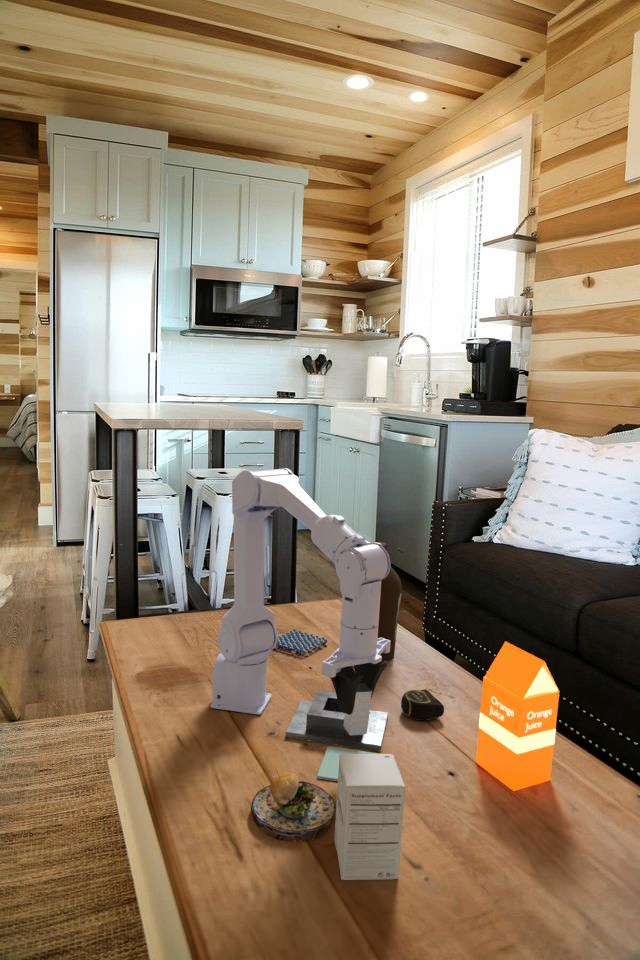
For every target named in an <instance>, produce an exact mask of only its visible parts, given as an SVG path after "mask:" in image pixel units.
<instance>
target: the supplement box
mask: <svg viewBox="0 0 640 960" xmlns="http://www.w3.org/2000/svg"><path fill="white" fill-rule="evenodd" d="M405 790H406V784H405V782H404V780H403V777H402V774H401V771H400V768H399V766H398V764H397V760H396V757H395V755H394V754H392V753H378V754H340V755H339V773H338V781H337V792H336V804H335V806H336V811H335V822H334V823H335V825H334V845H335V849H336V854H337V859H338V867H339V874H340V879H341V880H342V881H367V880H368V881H370V880H371V881H376V880H378V881H380V880H397V879H399V877H400V862H401V861H400V860H401V846H402V837H403V835H402V834H403V821H404V808H405V799H406V798H405V795H406V793H405V792H406V791H405Z"/></svg>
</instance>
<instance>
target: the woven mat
mask: <svg viewBox="0 0 640 960" xmlns="http://www.w3.org/2000/svg"><path fill="white" fill-rule="evenodd" d="M313 635H314V634H313V633H310V634H308V632H302V631H301V630H300V631H299V630H298V631H296V629H293V630H289V631H288V632H284V634H281V635H280V636H279V635H278V640H277V644H276V646H275V648H274V649H273V651H277V652H281V653H284V654H287V655H291V656H294V657H297V658H300V659H307V657H308V656H312V654H315V653H316V652H317V651H319V650H322V649H325V648H326V647H327V646H328V645H329V644H328V639H325V637H319V635H314V636H313Z"/></svg>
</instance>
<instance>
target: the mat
mask: <svg viewBox="0 0 640 960" xmlns="http://www.w3.org/2000/svg"><path fill="white" fill-rule="evenodd" d="M326 747H327V748H326V750H325V754H324V756H323V759H322V761H321V763H320V764H321V765H320V767H319V768H318V773H317V777H316V778H317V779H321V780H327V781H333V782H338V773H339V755H340V754H379V753H376V752H370V751H363V750H357V749H350V748H343V747H337V746H328V745H327V746H326Z"/></svg>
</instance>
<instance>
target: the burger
mask: <svg viewBox="0 0 640 960" xmlns="http://www.w3.org/2000/svg"><path fill="white" fill-rule="evenodd" d="M274 768H275V770H276V773H277V776H276V777H275V778H274V779H273V780H272V782H271V784H269V785H267V786H265V787H263V788H261V789H260V790H259V791H257V792H256V794H255V795H254V797H253V798H252V800H251V807H250V819H251V822H252V824H253V825H254V827H255V828H256V829H257V830H258V831H259V832H260V833H262V834H263V835H264V836H266V837H269V838H271V839H274V840H276V841H277V840H278V841H282V842H288V843H294V842H297V843H299V842H301V843H302V842H305V841H306V842H309V841H313V840H315V837H316V836H317V833H319V830H321V829H322V828H324V827H326V826H329V824H330V823H331V821H332V818H333V817H334V816H335V815H336V802H335V798H334V797H333V796H332V795H330V793H328V792H327V791H326V790H325V789H323V788H322V787H319V786H317V784H314V783H311V782H307V781H304V780H300V781H299V778H298V776H297V774H296V773H293V772H283V773H279V772H278V770H277V767H275V766H274Z"/></svg>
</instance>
